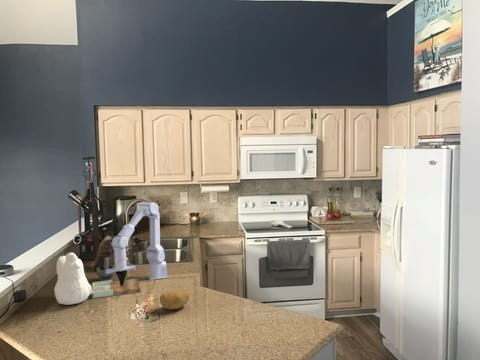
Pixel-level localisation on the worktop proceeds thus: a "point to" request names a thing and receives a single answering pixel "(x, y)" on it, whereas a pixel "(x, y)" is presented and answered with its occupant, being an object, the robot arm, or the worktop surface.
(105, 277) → the mortar and pestle
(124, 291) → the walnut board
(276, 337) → the worktop surface
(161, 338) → the worktop surface
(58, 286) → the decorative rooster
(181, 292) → the potato
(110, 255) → the owl
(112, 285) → the terracotta tile
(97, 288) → the cream tile
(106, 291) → the tray
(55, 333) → the worktop surface
